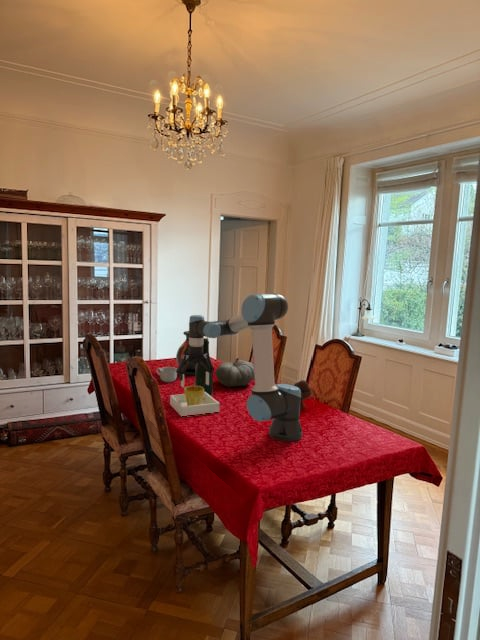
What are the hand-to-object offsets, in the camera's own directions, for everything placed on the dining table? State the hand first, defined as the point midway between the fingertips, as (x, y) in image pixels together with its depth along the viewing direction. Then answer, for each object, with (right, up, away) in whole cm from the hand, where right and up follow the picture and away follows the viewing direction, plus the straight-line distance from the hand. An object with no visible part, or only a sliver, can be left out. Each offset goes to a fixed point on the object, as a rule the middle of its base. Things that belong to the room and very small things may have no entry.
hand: (195, 385), depth 230 cm
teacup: (-23, -5, +50) cm, 56 cm away
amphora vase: (-10, -2, +72) cm, 73 cm away
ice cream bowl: (+57, -13, +12) cm, 59 cm away
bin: (-1, -12, +2) cm, 12 cm away
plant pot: (-1, -11, +2) cm, 12 cm away
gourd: (+20, -7, +48) cm, 53 cm away
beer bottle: (+2, -9, +25) cm, 27 cm away
